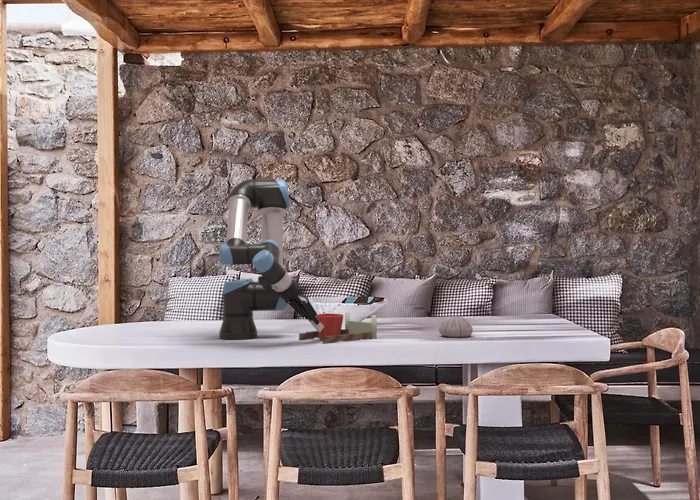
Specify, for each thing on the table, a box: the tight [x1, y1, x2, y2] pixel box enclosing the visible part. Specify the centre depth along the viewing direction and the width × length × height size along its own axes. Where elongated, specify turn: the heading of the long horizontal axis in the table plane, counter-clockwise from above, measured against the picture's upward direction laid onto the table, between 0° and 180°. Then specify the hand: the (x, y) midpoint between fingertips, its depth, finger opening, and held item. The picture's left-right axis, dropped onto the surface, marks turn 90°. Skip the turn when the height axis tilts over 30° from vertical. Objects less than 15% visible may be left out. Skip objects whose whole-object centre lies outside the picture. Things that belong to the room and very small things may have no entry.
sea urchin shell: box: [438, 315, 473, 339], centre depth 312 cm, size 13×14×8 cm
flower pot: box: [316, 313, 344, 341], centre depth 305 cm, size 11×11×10 cm
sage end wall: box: [344, 312, 378, 339], centre depth 314 cm, size 2×18×9 cm, turn 39°
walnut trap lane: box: [298, 328, 372, 345], centre depth 308 cm, size 25×19×2 cm
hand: (321, 329), depth 300 cm, fingers closed
